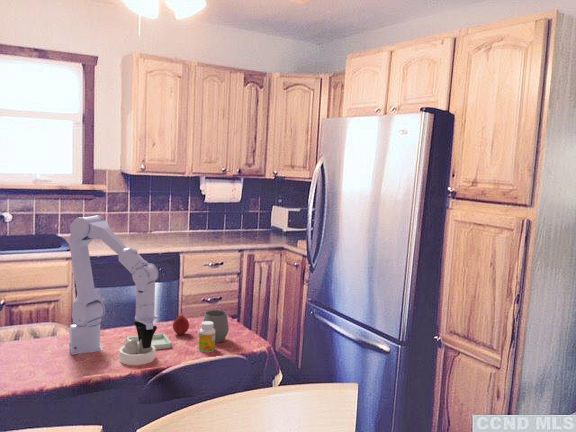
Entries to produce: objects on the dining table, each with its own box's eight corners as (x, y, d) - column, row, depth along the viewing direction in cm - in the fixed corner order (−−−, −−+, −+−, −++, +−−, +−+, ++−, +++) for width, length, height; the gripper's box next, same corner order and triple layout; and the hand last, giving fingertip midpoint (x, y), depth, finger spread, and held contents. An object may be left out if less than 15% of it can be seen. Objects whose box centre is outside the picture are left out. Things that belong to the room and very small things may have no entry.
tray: (132, 353, 176) (132, 347, 176) (126, 342, 186) (126, 337, 186) (171, 348, 182) (171, 343, 182) (163, 338, 192) (163, 333, 192)
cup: (231, 337, 196) (232, 310, 195) (224, 346, 187) (224, 318, 186) (206, 335, 198) (207, 308, 197) (197, 343, 189) (198, 315, 188)
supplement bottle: (195, 352, 180) (196, 323, 179) (203, 347, 185) (204, 319, 184) (209, 354, 179) (210, 326, 178) (217, 349, 184) (218, 321, 183)
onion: (186, 338, 193) (187, 316, 192) (170, 337, 193) (171, 315, 193) (190, 333, 199) (190, 312, 198) (174, 332, 199) (175, 311, 198)
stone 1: (127, 361, 168) (128, 342, 167) (122, 357, 170) (123, 338, 170) (139, 359, 170) (139, 340, 169) (134, 355, 173) (134, 336, 172)
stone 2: (140, 359, 170) (140, 340, 169) (137, 355, 173) (137, 336, 173) (152, 357, 172) (152, 338, 171) (149, 354, 175) (149, 335, 174)
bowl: (122, 368, 164) (122, 357, 164) (116, 356, 174) (116, 345, 173) (158, 363, 169) (158, 352, 169) (150, 352, 179) (150, 341, 178)
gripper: (163, 308, 166) (162, 351, 167) (152, 296, 179) (152, 336, 180) (140, 310, 163) (139, 353, 164) (131, 298, 176) (130, 338, 177)
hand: (144, 344), depth 172 cm, fingers open, 5 cm apart
